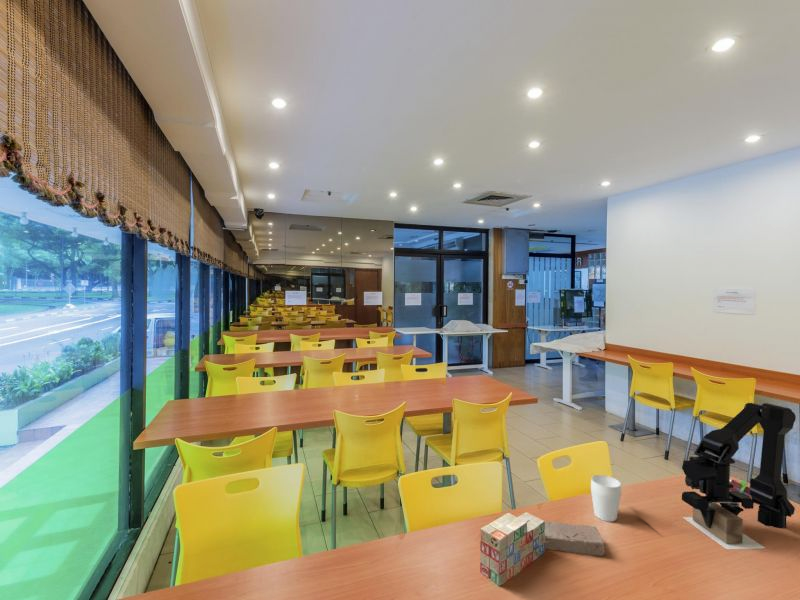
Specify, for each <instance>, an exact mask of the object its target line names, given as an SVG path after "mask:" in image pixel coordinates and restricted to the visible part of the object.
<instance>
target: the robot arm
mask: <svg viewBox="0 0 800 600" xmlns="http://www.w3.org/2000/svg"><path fill="white" fill-rule="evenodd" d="M795 421H796V414H795V412H793V410H792V409H791V408H789V407H786V406H781V405H776V404H774V403H773V404H772V403H769V402H763V403H761V404H758V403H754V402H747V403H745V404H744V406H743V409H741V410H740V411H739V412H738V413H737V414H736V415H735V416H734V417H733V418H732V419H731V420H729V421H728V423H727V422H726V424H725V425H724V426H722V427H721V428H718V429H712V430H711V431H710V432H708V433H706V434H705V435H704V436H703V437H702V438H701V441H700V442H699V444H698V446H697V447H696V449H695V451H694V454H693V455H695V456H689V460H685V461H684V463H683V464H682V471H683V473H684V475H685V478H684V482H685V485H686V486H687V487H691V489H692V490H693V491H683V492H681V501H683V502H685V503H686V504H687V505H689V506H691V507H692V509H693V508H695V509H698V510H700V512H701V514H702V516H703V519H704V522H705V524H706V526H707V527H708V528H710V527H711V525H712V522H713V518H714V514H715V510H714V509H712V508H711V506H712V503H716V504H719V505H720V506H722V507H723V508H725V509H727V510H728V511H730V512H732V513H733V514H735V515H737V516H738V515H740V513H742V512H744V509H745V510H751V509H752V510H753V509H754V505H755V504H756V505H758V510H757V522H758V523H760V524H762V525H764V526H765V527H772V528H774V529H775V528H776V529H784V528H785V529H787V530H788V531H791V532H792V530H790V529H788V528H787V517H792V515H794V514H795V511H796V508H795V506H794V505H793V504H792V503H791V501H790V500H789V499H788V491H787V489H786V487H785V485H784V483H783V481H782V468H783V459H784V451H785V450H784V448H785V447H784V446H785V437H786V435H787V434H788V433H789V432H790V431H791V430H792V429H794V424H795ZM758 424H759V426H760V427H761V428H762V430H763V434H762V435H763V436H762V443H761V452H760V454H761V456H760V465H759V473H758V475H757V476H756V477H753V478H752V477H751V478H750V480H749V481H750V482H749V490H750V497H748V496H746V495H744V494H742V493H740V492H738V491H730V490H729V488H733V484H731V483H730V482H731V481H730V480H731V477H730V476H731V464H735V463H736V461H735V459H734V458H733V457H734V456H735V454H736V453H737V452H738V450H739V449H740V448H739V447H740V446H739V442H741V440H742V439H743V438H744V437H745V436H746V435H747V434H748V433H749V432H751V430H752V429H754V428H755V427H756V426H757V425H758ZM694 490H699V492H700V493H698V492H696V491H694ZM701 494H705V495H701ZM740 504H741V507H740Z"/></svg>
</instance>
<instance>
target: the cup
mask: <svg viewBox="0 0 800 600" xmlns="http://www.w3.org/2000/svg"><path fill="white" fill-rule="evenodd" d="M590 479H591V481H590V491H591V499H592V506H593V514H594V516H595V517H596V518H598V519H599V520H602V521H604V522H611V523H612V522H615V521H617V519H618V512H619V507H620V502H621V496H622V490H621V489H622V488H621V487H622V486H621V485H622V484H621V482H620V481H619V480H618V479H616V478H614V477H612V476H608V475H604V474H596V475H593V476H591V477H590Z"/></svg>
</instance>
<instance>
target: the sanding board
mask: <svg viewBox="0 0 800 600" xmlns="http://www.w3.org/2000/svg"><path fill="white" fill-rule="evenodd" d="M682 518H683V519H684V520H686V521H687V522H688V523H689V524H691V525H692V526H694V527H695V528H696V529H698V530H700V531H701V533H704V535H706V536H708V537H709V538H710V539H712V540H713V541H715V542H716V543H717V544H719V545H720V546H721V547H723V548H724V549H726V550H751V549H752V550H755V549H756V550H758V549H764V550H765V549H766V547H765V546H763V545H762V544H760V543H759V542H757V541H755V540H754V539H753V538H751V537H750V536H748V535H747V534H745V533H743V542H742V543H725V542H724V541H722V540H721V539H720V538H718V537H717V536H715V535H714V534H712V533H711V532H709V531H708V530H707V529H705V528H704V527H702V526H701V525H699V524H698V523H696V522H695V521H694V520H693V516H686V517H685V516H682Z"/></svg>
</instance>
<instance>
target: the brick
mask: <svg viewBox="0 0 800 600" xmlns="http://www.w3.org/2000/svg"><path fill="white" fill-rule="evenodd" d="M544 521H545V531H544V532H545V550H550V551H561V552H565V553H571V554H572V553H573V554H580V555H587V556H592V557H593V556H595V557H596V556H603V555H604V554H605V541H604V540H603V539H604V538H603V537H602V534H601V533H600V531H599V530H598V528H597V527H596V526H593V525H587V524H586V525H585V524H574V525H573V524H571V523H570V524H569V523H565V522H563V523H562V522H559V521H558V522H557V521H550V520H549V521H546V520H544Z"/></svg>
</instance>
